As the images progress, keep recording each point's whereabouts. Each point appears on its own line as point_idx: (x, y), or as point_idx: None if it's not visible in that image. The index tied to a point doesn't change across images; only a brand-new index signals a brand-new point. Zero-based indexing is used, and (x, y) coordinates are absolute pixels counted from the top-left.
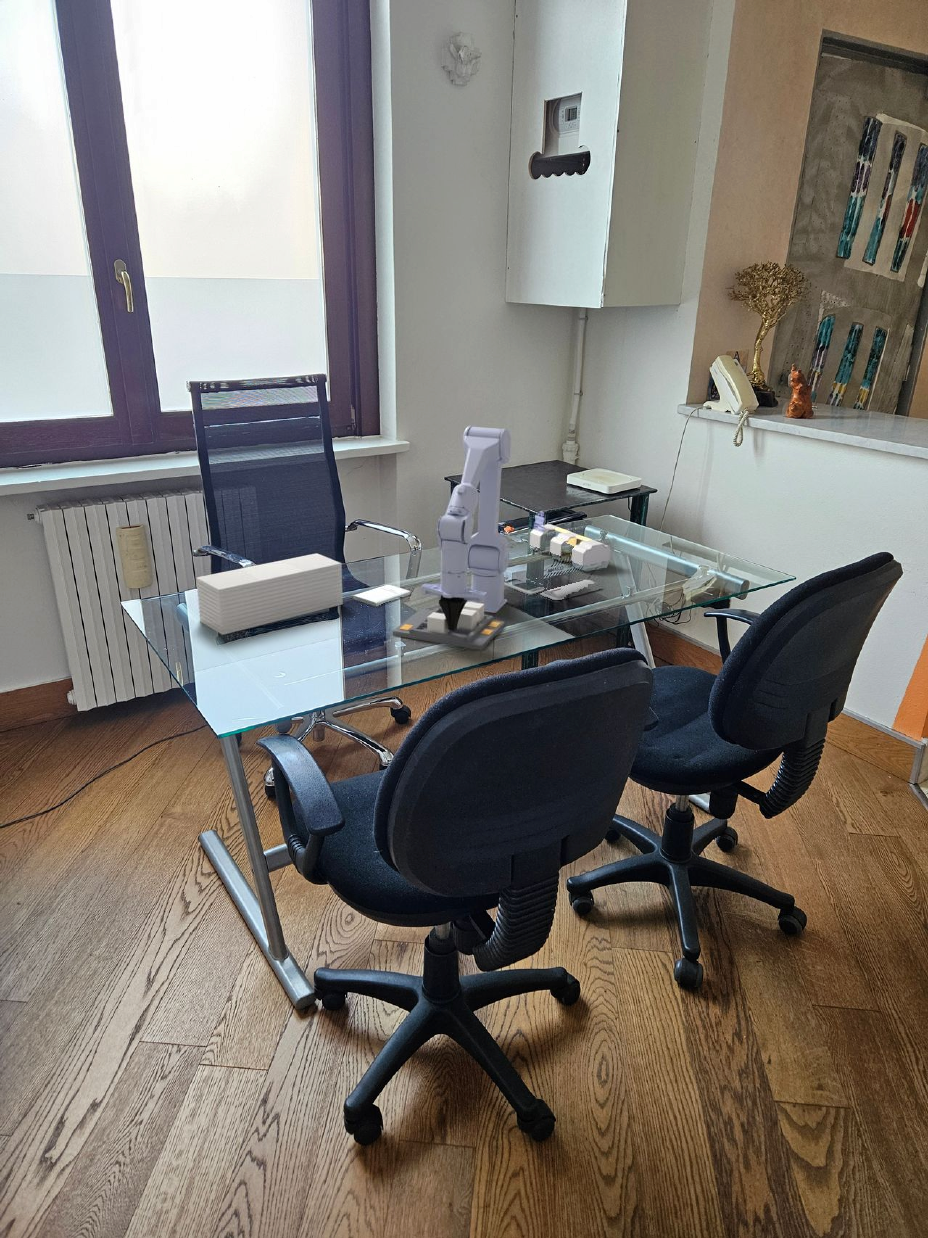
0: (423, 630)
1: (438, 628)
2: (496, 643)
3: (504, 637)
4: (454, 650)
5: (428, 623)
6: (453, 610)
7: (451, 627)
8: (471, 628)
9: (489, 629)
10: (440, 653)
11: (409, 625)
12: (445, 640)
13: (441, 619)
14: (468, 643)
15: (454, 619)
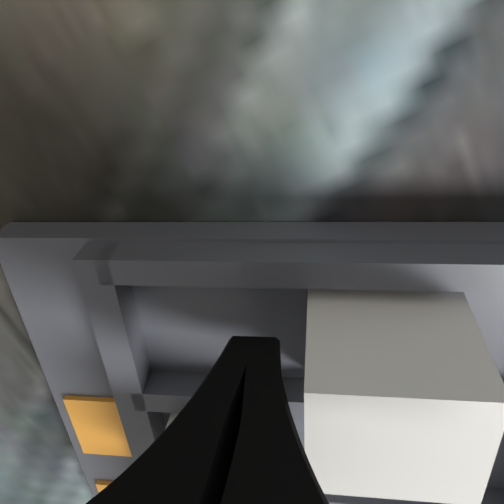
0: (502, 289)
1: (360, 323)
2: (12, 345)
3: (33, 419)
4: (159, 143)
5: (475, 349)
6: (155, 496)
7: (241, 349)
8: (167, 422)
9: (106, 454)
10: (227, 25)
11: None
12: (274, 237)
13: (335, 393)
14: (89, 244)
15: (187, 406)
